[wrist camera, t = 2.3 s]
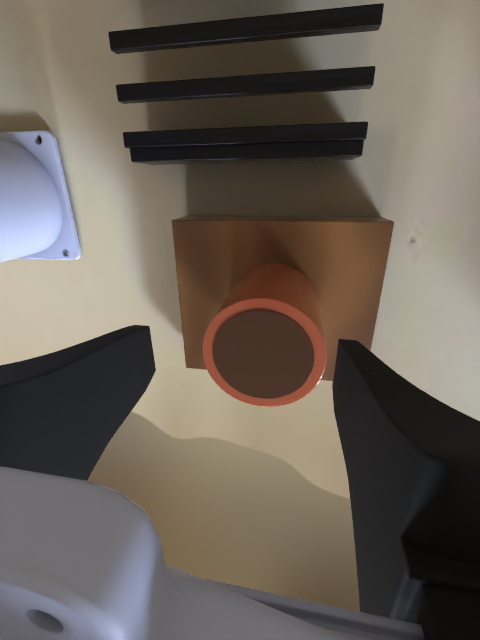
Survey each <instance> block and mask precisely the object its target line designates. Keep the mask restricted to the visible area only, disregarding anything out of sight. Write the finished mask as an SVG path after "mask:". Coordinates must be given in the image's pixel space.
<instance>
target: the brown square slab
mask: <svg viewBox="0 0 480 640" xmlns="http://www.w3.org/2000/svg"><path fill="white" fill-rule="evenodd" d="M393 225H394V222H393V221H391V220H388V219H385V218H383V217H310V216H185V217H181V218H177V219H174V220H172V227H173V237H174V247H175V258H176V268H177V278H178V289H179V299H180V309H181V319H182V330H183V340H184V350H185V361H186V368H194V369H205V370H207V368H206V365H205V362H204V359H203V352H202V344H203V338H204V334H205V331H206V329H207V327H208V325H209V323H210V322H211V320H212V319H213V317H214V316H215V314H216V312H217V311H218V309H219V308H220V306H221V305H222V303H223V302H224V300H225V299H226V297H227V296H228V294H229V292H230V291H231V289H232V288H233V286H234V285H235V283H236V282H237V280H238V279H239V278H240V277H241V276H242V275H243V274H244V273H245V272H246V271H248V270H250V269H251V268H253V267H255V266H258V265H261V264H266V263H281V264H285V265H289V266H291V267H294V268H296V269H298V270H299V271H301V272H302V273H303V274H304V275H306V276H307V277H308V278H309V280H310V281H311V282H312V284H313V285H314V287H315V289H316V292H317V295H318V298H319V305H320V311H321V318H322V324H323V331H324V337H325V344H326V351H327V362H326V367H325V370H324V373H323V376H322V377H321V379H320V380H326V381H333V379H334V371H335V363H336V356H337V348H338V340H339V339H348V340H357V341H359V342H360V343H361V344H362V345H364V346H365V347H366V348H367V349H368V350H369V351H371V345H372V340H373V334H374V329H375V323H376V318H377V313H378V307H379V302H380V296H381V291H382V285H383V280H384V274H385V269H386V263H387V258H388V252H389V247H390V241H391V236H392V231H393Z"/></svg>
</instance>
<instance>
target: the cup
mask: <svg viewBox="0 0 480 640" xmlns="http://www.w3.org/2000/svg"><path fill="white" fill-rule="evenodd" d="M202 352H203V359H204V362H205V365H206V368H207V370H208V372H209V374H210V376H211V377H212V379H213V380H214V381H215V382H216V384H217V385H218V386H219V387H220V388H221V389H222V390H224V391H225V392H226V393H227V394H229V395H231V396H232V397H234V398H236V399H238V400H240V401H242V402H245V403H248V404H252V405H256V406H265V407H273V406H281V405H286V404H290V403H292V402H295V401H297V400H299V399H301V398H303V397H304V396H306V395H307V394H308V393H310V392H311V391H312V390H313V389H314V388H315V386H316V385H317V384H318V382H319V381H320V379H321V377H322V376H323V373H324V370H325V367H326V362H327V351H326V344H325V337H324V331H323V324H322V318H321V311H320V305H319V298H318V295H317V292H316V289H315V287H314V285H313V284H312V282H311V281H310V280H309V278H308V277H307V276H306V275H304V274H303V273H302V272H301V271H299V270H298V269H296V268H294V267H291V266H289V265H285V264H281V263H266V264H261V265H258V266H255V267H253V268H251V269H250V270H248V271H246V272H245V273H244V274H243V275H242V276H241V277H240V278H239V279H238V280H237V282H236V283H235V285H234V286H233V288H232V289H231V291H230V292H229V294H228V296H227V297H226V299H225V300H224V302H223V303H222V305H221V306H220V308H219V309H218V311H217V312H216V314H215V316H214V317H213V319H212V320H211V322H210V323H209V325H208V327H207V329H206V331H205V334H204V338H203V344H202Z"/></svg>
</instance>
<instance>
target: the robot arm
mask: <svg viewBox="0 0 480 640" xmlns="http://www.w3.org/2000/svg"><path fill="white" fill-rule="evenodd" d="M39 137H41V139H42V143H40V142H39ZM66 250H67V251H68V253H69V255H68V254H67V253H66ZM80 257H81V250H80V245H79V241H78V236H77V231H76V227H75V222H74V218H73V213H72V209H71V204H70V200H69V195H68V191H67V186H66V182H65V177H64V172H63V168H62V163H61V159H60V154H59V150H58V145H57V141H56V138H55V136H54V134H53V133H52V132H50V131H46V130H34V131H13V132H0V262H4V261H7V260H11V259H15V258H28V259H59V260H76V259H79V258H80ZM155 371H156V369H155V362H154V355H153V348H152V342H151V335H150V328H149V326H140V325H133V326H129V327H125V328H122V329H119V330H116V331H113V332H110V333H108V334H105V335H102V336H100V337H97V338H94V339H92V340H89V341H86V342H83V343H80V344H77V345H75V346H72V347H69V348H66V349H63V350H60V351H57V352H54V353H50V354H47V355H43V356H40V357H36V358H32V359H28V360H24V361H20V362H15V363H10V364H6V365H1V366H0V640H480V421H478V420H475V419H473V418H471V417H469V416H467V415H465V414H463V413H461V412H459V411H457V410H455V409H453V408H451V407H449V406H448V405H446V404H444V403H442V402H440V401H438V400H437V399H435V398H433V397H432V396H430V395H429V394H427V393H425V392H424V391H422V390H420V389H419V388H417V387H416V386H414V385H413V384H411V383H410V382H408V381H407V380H406V379H404V378H403V377H401V376H400V375H399V374H397V373H396V372H395V371H393V370H392V369H391V368H390V367H388V366H387V365H386V364H385V363H383V362H382V361H381V360H380V359H379V358H377V357H376V356H375V355H374V354H373V353H372V352H370V351H369V350H368V349H367V348H366V347H365V346H364V345H362V344H361V343H360V342H359V341H357V340H348V339H339V340H338V348H337V356H336V363H335V371H334V379H333V402H334V412H335V417H336V422H337V426H338V431H339V436H340V440H341V445H342V450H343V454H344V459H345V463H346V468H347V474H348V481H349V490H350V499H351V508H352V519H353V529H354V540H355V551H356V563H357V575H358V587H359V602H360V612H359V611H354V610H349V609H345V608H340V607H335V606H331V605H325V604H321V603H316V602H312V601H306V600H302V599H297V598H292V597H288V596H283V595H278V594H274V593H269V592H264V591H259V590H255V589H250V588H245V587H240V586H236V585H231V584H226V583H222V582H217V581H212V580H207V579H202V578H200V577H197V576H195V575H193V574H190V573H188V572H185V571H183V570H181V569H178V568H176V567H173V566H171V565H168V564H165V561H164V555H163V550H162V545H161V540H160V537H159V535H158V533H157V530H156V529H155V527H154V525H153V523H152V521H151V520H150V518H149V516H148V514H147V512H146V511H145V510H144V509H143V508H142V507H140V506H139V505H138V504H136V503H135V502H134V501H132V500H131V499H130V498H129V497H127V496H126V495H125V494H123V493H122V492H120V491H117V490H115V489H112V488H109V487H106V486H103V485H100V484H98V483H95V482H91V481H87V480H88V478H89V476H90V474H91V472H92V470H93V469H94V467H95V465H96V463H97V461H98V460H99V458H100V456H101V454H102V453H103V451H104V449H105V448H106V446H107V444H108V443H109V441H110V440H111V438H112V437H113V435H114V434H115V432H116V431H117V430H118V428H119V427H120V426H121V424H122V423H123V421H124V420H125V418H126V417H127V416H128V415H129V413H130V412H131V410H132V409H133V408H134V406H135V405H136V403H137V402H138V401H139V399H140V398H141V396H142V395H143V394H144V392H145V391H146V389H147V387H148V385H149V383H150V381H151V379H152V377H153V375H154V373H155Z"/></svg>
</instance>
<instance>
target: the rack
mask: <svg viewBox="0 0 480 640" xmlns="http://www.w3.org/2000/svg"><path fill="white" fill-rule="evenodd" d="M383 7H384V4H383V3H381V4H372V5H362V6H352V7H343V8H333V9H324V10H314V11H304V12H295V13H285V14H276V15H266V16H256V17H247V18H237V19H228V20H218V21H208V22H199V23H189V24H180V25H170V26H160V27H151V28H141V29H132V30H122V31H112V32H109V40H110V47H111V51H113V52H114V53H116V54H122V53H133V52H144V51H155V50H166V49H177V48H188V47H199V46H210V45H221V44H232V43H243V42H254V41H265V40H276V39H288V38H299V37H310V36H321V35H332V34H343V33H354V32H365V31H376V30H379V28H380V26H381V22H382V14H383ZM374 74H375V66H369V67H355V68H341V69H327V70H313V71H299V72H286V73H272V74H258V75H244V76H230V77H217V78H203V79H189V80H175V81H161V82H148V83H134V84H120V85H116V89H117V96H118V101H119V102H121V103H123V104H127V103H143V102H160V101H176V100H192V99H209V98H225V97H242V96H258V95H274V94H291V93H307V92H324V91H340V90H357V89H370V88H371V87H372V86H373V82H374ZM367 127H368V122H345V123H323V124H300V125H277V126H255V127H232V128H209V129H187V130H164V131H141V132H124V133H123V138H124V145H125V147H126V148H130V153H131V161H132V162H135V163H143V164H151V165H154V164H194V163H235V162H275V161H315V160H353V159H355V158H357V157H360V156H361V155H362V150H363V143H364V140H365V139H366V134H367Z"/></svg>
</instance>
